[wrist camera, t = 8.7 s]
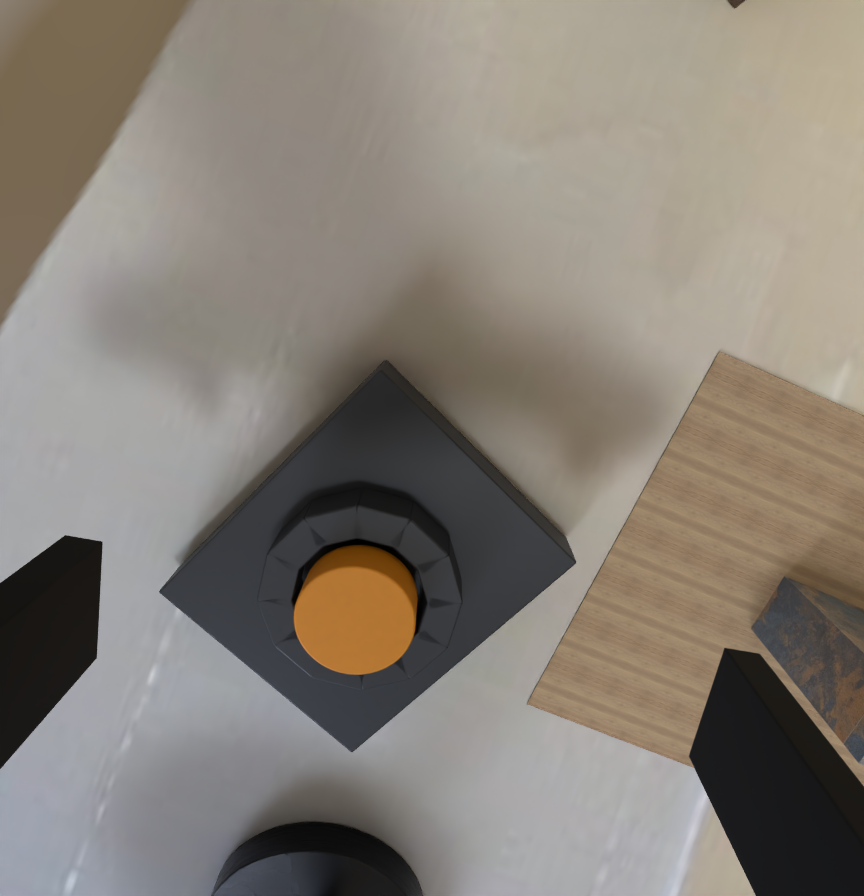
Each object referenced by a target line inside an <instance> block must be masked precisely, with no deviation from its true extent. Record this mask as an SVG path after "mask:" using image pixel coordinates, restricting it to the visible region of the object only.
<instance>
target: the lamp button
mask: <svg viewBox="0 0 864 896" xmlns="http://www.w3.org/2000/svg"><path fill="white" fill-rule="evenodd" d="M417 600H418V597H417V589H416V584H415V582H414V579H413V577H412V575H411V573H410V572H409V570H408V569H407V568H406V566H405V565H404V564H403V563H402V562H401V561H400V560H399V559H397V558H396V557H395V556H394V555H392V554H390V553H389V552H387V551H385V550H382V549H380V548H377V547H373V546H368V545H349V546H343V547H340V548H337V549H335V550H332V551H330V552H328V553H327V554H325V555H324V556H322V557H321V558H320V559H319V560H318V561H317V562H316V563H315V564H314V565H313V566H312V568H311V569H310V571H309V573H308V575H307V577H306V579H305V582H304V584H303V586H302V589H301V591H300V594H299V596H298V598H297V601H296V604H295V609H294V627H295V631H296V634H297V637H298V639H299V641H300V643H301V645H302V646H303V648H304V649H305V650H306V652H307V653H308V654H309V655H310V656H311V657H312V658H313V659H314V660H316V661H317V662H318V663H320V664H321V665H323V666H325V667H327V668H329V669H331V670H333V671H337V672H340V673H345V674H353V675H360V674H369V673H374V672H377V671H380V670H382V669H385V668H387V667H388V666H390V665H392V664H393V663H395V662H396V661H397V660H398V659H399V658H400V657H401V656H402V655H403V654H404V653H405V652H406V650H407V649H408V647H409V646H410V644H411V642H412V639H413V637H414V632H415V626H416V613H417Z"/></svg>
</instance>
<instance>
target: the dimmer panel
mask: <svg viewBox="0 0 864 896" xmlns="http://www.w3.org/2000/svg"><path fill="white" fill-rule="evenodd" d="M728 1H729V2H730V3H731V4H732V6H733V7H734V8H737V7H738V6H739V5H740V4H741V3H743V2H744V1H745V0H728Z"/></svg>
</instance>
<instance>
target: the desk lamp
mask: <svg viewBox="0 0 864 896" xmlns="http://www.w3.org/2000/svg"><path fill="white" fill-rule="evenodd" d="M211 896H423V895H422V891H421V888H420V885H419V883H418V881H417V878H416V876H415V875H414V873H413V872H412V870H411V868H410V867H409V866H408V865H407V863H406V862H405V861H404V860H403V859H402V858H401V857H400V856H399V855H398V854H397V853H396V852H395V851H394V850H393V849H391V848H390V847H389V846H387V845H386V844H384V843H383V842H381V841H380V840H378V839H376V838H374V837H372V836H371V835H368V834H366V833H363V832H361V831H359V830H356V829H352V828H349V827H345V826H341V825H336V824H330V823H317V822H310V823H296V824H289V825H284V826H280V827H277V828H273V829H271V830H268V831H265V832H263V833H261V834H259V835H257V836H255V837H253V838H251V839H250V840H248V841H247V842H246V843H244V844H243V845H241V846H240V847H239V848H238V849H237V850H236V851H235V852H234V853H233V854H232V855H231V856H230V857H229V859H228V860H227V861H226V863H225V864H224V866H223V868H222V870H221V871H220V873H219V876H218V879H217V881H216V884H215V887H214V890H213V892H212V895H211Z"/></svg>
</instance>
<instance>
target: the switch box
mask: <svg viewBox="0 0 864 896" xmlns="http://www.w3.org/2000/svg"><path fill="white" fill-rule="evenodd" d="M349 545H368V546H373V547H377V548H380V549H382V550H385V551H387V552H389V553H390V554H392V555H394V556H395V557H396V558H397V559H399V560H400V561H401V562H402V563H403V564H404V565H405V566H406V568H407V569H408V570H409V572H410V573H411V575H412V577H413V579H414V582H415V584H416V589H417V597H418V600H417V613H416V626H415V632H414V637H413V639H412V642H411V644H410V646H409V647H408V649H407V650H406V652H405V653H404V654H403V655H402V656H401V657H400V658H399V659H398V660H397V661H396V662H395V663H393V664H392V665H390V666H388V667H387V668H385V669H382V670H380V671H377V672H374V673H369V674H360V675H353V674H345V673H340V672H337V671H333V670H331V669H329V668H327V667H325V666H323V665H321V664H320V663H318V662H317V661H316V660H314V659H313V658H312V657H311V656H310V655H309V654H308V653H307V652H306V650H305V649H304V648H303V646H302V645H301V643H300V641H299V639H298V637H297V634H296V631H295V627H294V609H295V604H296V601H297V598H298V596H299V594H300V591H301V589H302V586H303V584H304V582H305V579H306V577H307V575H308V573H309V571H310V569H311V568H312V566H313V565H314V564H315V563H316V562H317V561H318V560H319V559H320V558H321V557H322V556H324V555H325V554H327V553H328V552H330V551H332V550H335V549H337V548H340V547H343V546H349ZM574 564H576V560H575V558H574V555H573V553H572V551H571V548H570V546H569V543H568V541H567V538H566V537H565V536H564V535H563V534H562V533H561V532H560V531H559V530H558V529H557V528H556V527H555V526H554V525H553V524H552V523H551V522H550V521H549V520H548V519H547V518H546V517H545V516H544V515H543V514H542V513H541V512H540V511H539V510H538V509H536V508H535V507H534V506H533V505H532V504H531V503H530V502H529V501H528V500H527V499H526V498H525V497H524V496H523V495H522V494H521V493H520V492H519V491H518V490H517V489H516V488H515V487H514V486H513V485H512V484H511V483H510V482H509V481H508V480H507V479H506V478H505V477H504V476H503V475H502V474H501V473H500V472H499V471H498V470H497V469H496V468H495V467H494V466H493V465H492V464H491V463H490V462H489V461H488V460H487V459H486V458H485V457H484V456H483V455H482V454H481V453H480V452H479V451H478V450H477V449H476V448H475V447H474V446H473V445H472V444H471V443H470V442H469V441H468V440H467V439H466V438H465V437H464V436H463V435H462V434H461V433H460V432H459V431H458V430H457V429H456V428H455V427H454V426H453V425H452V424H451V423H450V422H449V421H448V420H447V419H446V418H445V417H444V416H443V415H442V414H441V413H440V412H439V411H438V410H437V409H436V408H435V407H434V406H433V405H432V404H431V403H430V402H429V401H427V400H426V399H425V398H424V397H423V396H422V395H421V394H420V393H419V392H418V391H417V390H416V389H415V388H414V387H413V386H412V385H411V384H410V383H409V382H408V381H407V380H406V379H405V378H404V377H403V376H402V375H401V374H400V373H399V372H398V371H397V370H396V369H395V368H394V367H393V366H392V365H391V364H390V363H389V362H388V361H387V360H385V361H384V362H383V363H382V364H381V365H380V366H379V367H378V368H377V369H376V370H375V371H374V372H373V373H372V374H371V375H370V376H369V377H368V378H367V379H366V380H365V381H364V382H363V383H362V384H361V385H360V386H359V387H358V388H357V389H356V390H355V391H354V392H353V393H352V394H351V395H350V396H349V397H348V398H347V399H346V400H345V401H344V402H343V403H342V404H341V405H340V406H339V407H338V408H337V409H336V410H335V411H334V412H333V413H332V414H331V415H330V416H329V417H328V418H327V419H326V420H325V421H324V422H323V423H322V424H321V425H320V426H319V427H318V428H317V429H316V430H315V431H314V432H313V433H312V434H311V435H310V436H309V437H308V438H307V439H306V440H305V441H304V442H303V443H302V444H301V445H300V446H299V447H298V448H297V449H296V450H295V451H294V452H293V453H292V454H291V455H290V456H289V457H288V458H287V459H286V460H285V461H284V462H283V463H282V464H281V465H280V466H279V467H278V468H277V469H276V470H275V471H274V472H273V473H272V474H271V475H270V476H269V477H268V478H267V479H266V480H265V481H264V482H263V483H262V484H261V485H260V486H259V487H258V488H257V489H256V490H255V491H254V492H253V493H252V494H251V495H250V496H249V497H248V498H247V499H246V500H245V501H244V502H243V503H242V504H241V505H240V506H239V507H238V508H237V509H236V510H235V511H234V512H233V513H232V514H231V515H230V516H229V517H228V518H227V519H226V520H225V521H224V522H223V523H222V524H221V525H220V526H219V527H218V528H217V529H216V530H215V531H214V532H213V533H212V534H211V535H210V536H209V537H208V538H207V539H206V540H205V541H204V542H203V543H202V544H201V545H200V546H199V547H198V548H197V549H196V550H195V551H194V552H193V553H192V554H191V555H190V556H189V557H188V558H187V559H186V560H185V561H184V562H183V563H182V564H181V565H180V567H179V568H178V569H177V570H176V571H175V573H174V574H173V575H172V576H171V577H170V579H169V580H168V581H167V582H166V584H165V585H164V586H163V587H162V588H161V590H160V591H159V592H160V593H161V594H162V595H163V596H164V597H165V598H167V599H168V600H169V601H170V602H171V603H173V604H174V605H175V606H176V607H177V608H179V609H180V610H181V611H182V612H183V613H185V614H186V615H187V616H188V617H189V618H191V619H192V620H193V621H194V622H195V623H197V624H198V625H199V626H200V627H201V628H203V629H204V630H205V631H206V632H207V633H209V634H210V635H211V636H212V637H213V638H215V639H216V640H217V641H218V642H219V643H221V644H222V645H223V646H224V647H226V648H227V649H228V650H229V651H230V652H232V653H233V654H234V655H235V656H236V657H238V658H239V659H240V660H241V661H242V662H244V663H245V664H246V665H247V666H248V667H250V668H251V669H252V670H253V671H254V672H256V673H257V674H258V675H259V676H260V677H262V678H263V679H264V680H265V681H266V682H268V683H269V684H270V685H271V686H272V687H274V688H275V689H276V690H277V691H278V692H280V693H281V694H282V695H283V696H284V697H286V698H287V699H288V700H289V701H290V702H292V703H293V704H294V705H295V706H296V707H298V708H299V709H300V710H301V711H302V712H304V713H305V714H306V715H307V716H308V717H310V718H311V719H312V720H313V721H314V722H316V723H317V724H318V725H319V726H320V727H322V728H323V729H324V730H325V731H327V732H328V733H329V734H330V735H331V736H333V737H334V738H335V739H336V740H337V741H339V742H340V743H341V744H342V745H343V746H345V747H346V748H347V749H348V750H349V751H351V752H353V751H354V750H355V749H357V748H358V747H359V746H360V745H361V744H363V743H364V742H365V741H366V740H367V739H368V738H370V737H371V736H372V735H373V734H374V733H376V732H377V731H378V730H379V729H380V728H381V727H383V726H384V725H385V724H386V723H387V722H389V721H390V720H391V719H392V718H393V717H395V716H396V715H397V714H398V713H399V712H400V711H402V710H403V709H404V708H405V707H406V706H408V705H409V704H410V703H411V702H412V701H413V700H415V699H416V698H417V697H418V696H419V695H421V694H422V693H423V692H424V691H425V690H426V689H428V688H429V687H430V686H431V685H432V684H434V683H435V682H436V681H437V680H438V679H439V678H441V677H442V676H443V675H444V674H445V673H447V672H448V671H449V670H450V669H451V668H453V667H454V666H455V665H456V664H457V663H458V662H460V661H461V660H462V659H463V658H464V657H466V656H467V655H468V654H469V653H470V652H471V651H473V650H474V649H475V648H476V647H477V646H479V645H480V644H481V643H482V642H483V641H484V640H486V639H487V638H488V637H489V636H490V635H492V634H493V633H494V632H495V631H496V630H497V629H499V628H500V627H501V626H502V625H503V624H505V623H506V622H507V621H508V620H509V619H510V618H512V617H513V616H514V615H515V614H516V613H518V612H519V611H520V610H521V609H522V608H524V607H525V606H526V605H527V604H528V603H529V602H531V601H532V600H533V599H534V598H535V597H537V596H538V595H539V594H540V593H541V592H542V591H544V590H545V589H546V588H547V587H548V586H550V585H551V584H552V583H553V582H554V581H555V580H557V579H558V578H559V577H560V576H561V575H563V574H564V573H565V572H566V571H567V570H568V569H570V568H571V567H572V566H573V565H574Z"/></svg>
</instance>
